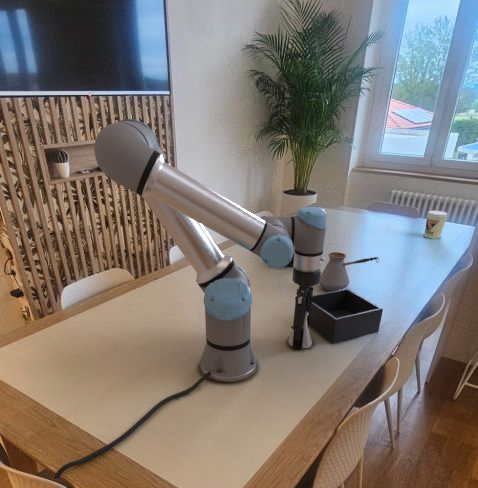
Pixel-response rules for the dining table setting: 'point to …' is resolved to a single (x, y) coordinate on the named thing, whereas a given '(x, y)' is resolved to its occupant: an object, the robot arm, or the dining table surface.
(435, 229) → the coffee cup
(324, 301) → the dark grey open box
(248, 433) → the dining table surface
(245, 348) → the robot arm
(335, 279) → the coffee pot
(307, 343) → the flask
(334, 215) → the dining table surface
